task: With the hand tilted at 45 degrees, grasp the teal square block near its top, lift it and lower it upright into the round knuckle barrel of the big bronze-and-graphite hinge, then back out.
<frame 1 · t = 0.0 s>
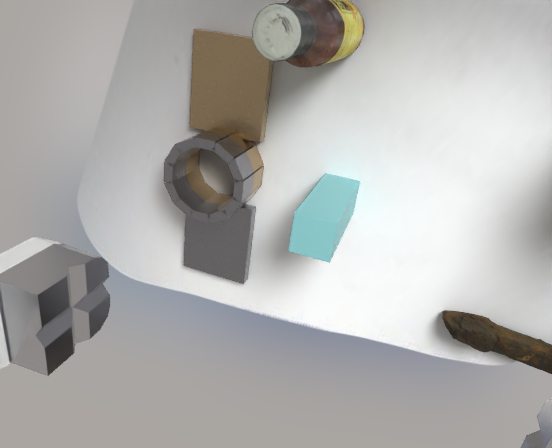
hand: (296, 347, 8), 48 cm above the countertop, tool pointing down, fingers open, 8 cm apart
sauce bottle: (336, 30, 51), on the countertop
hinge: (226, 166, 62), on the countertop
hand tool: (514, 338, 58), on the countertop
teal square block: (339, 193, 58), on the countertop
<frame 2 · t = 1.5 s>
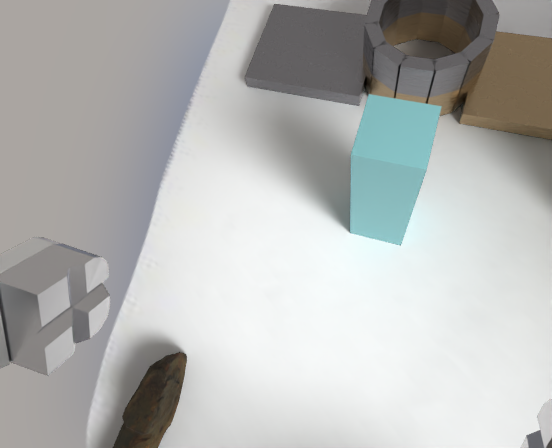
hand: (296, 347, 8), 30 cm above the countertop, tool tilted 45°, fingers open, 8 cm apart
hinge: (418, 73, 45), on the countertop
teal square block: (381, 216, 40), on the countertop
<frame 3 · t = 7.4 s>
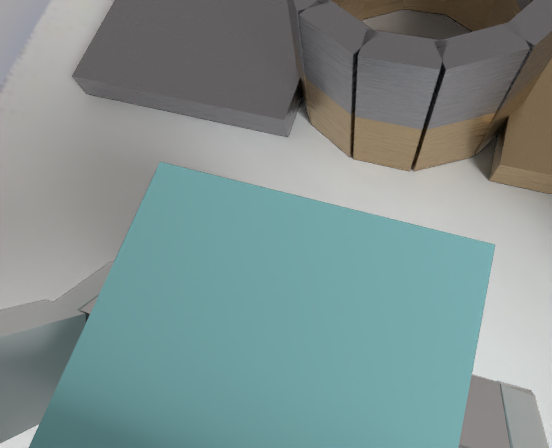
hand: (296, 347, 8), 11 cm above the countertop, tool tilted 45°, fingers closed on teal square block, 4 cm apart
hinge: (406, 74, 23), on the countertop
teal square block: (316, 391, 18), on the countertop, touching gripper
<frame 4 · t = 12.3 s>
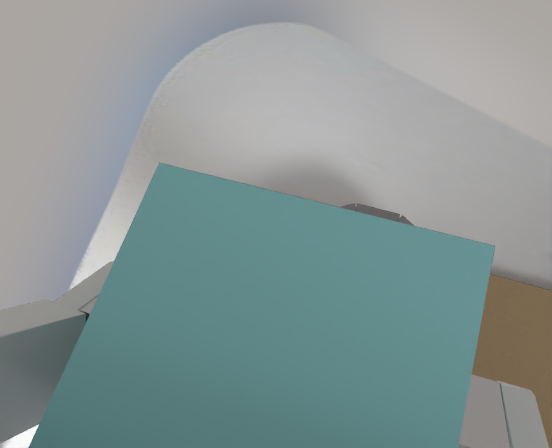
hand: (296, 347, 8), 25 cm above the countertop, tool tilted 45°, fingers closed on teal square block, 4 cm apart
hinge: (353, 310, 33), on the countertop
teal square block: (316, 392, 18), point 14 cm above the countertop, touching gripper
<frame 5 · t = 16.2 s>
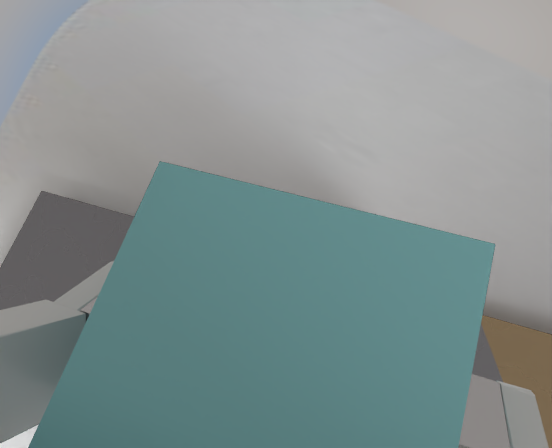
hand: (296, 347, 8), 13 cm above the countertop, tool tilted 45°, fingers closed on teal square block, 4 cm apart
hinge: (320, 392, 20), on the countertop
teal square block: (316, 391, 18), point 2 cm above the countertop, touching gripper
when the fingers open (12 cm above the countertop, at t = 17.2 s): teal square block drops 1 cm, resting in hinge.
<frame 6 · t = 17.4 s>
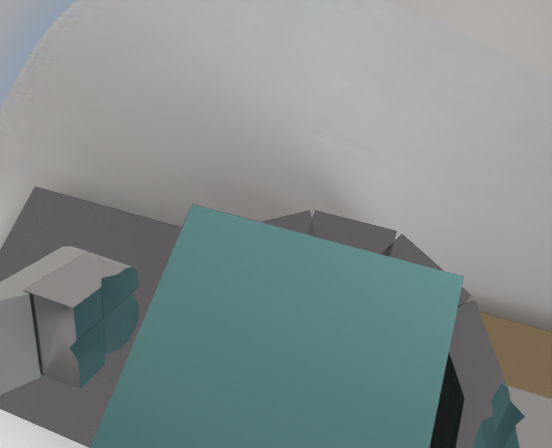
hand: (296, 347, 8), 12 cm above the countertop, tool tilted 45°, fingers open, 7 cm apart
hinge: (318, 392, 19), on the countertop
teal square block: (319, 392, 19), resting in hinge
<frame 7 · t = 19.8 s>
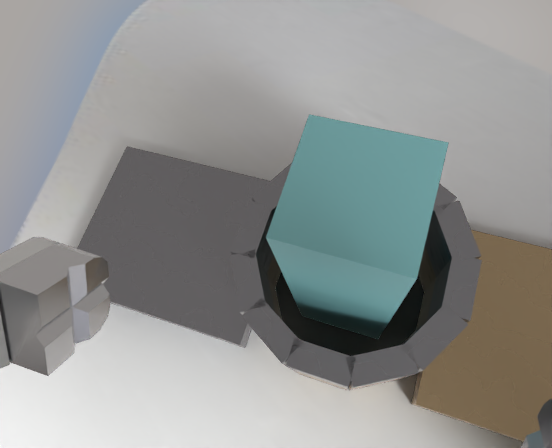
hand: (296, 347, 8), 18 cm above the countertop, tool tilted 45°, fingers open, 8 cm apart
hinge: (348, 290, 27), on the countertop
teal square block: (349, 290, 27), resting in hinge
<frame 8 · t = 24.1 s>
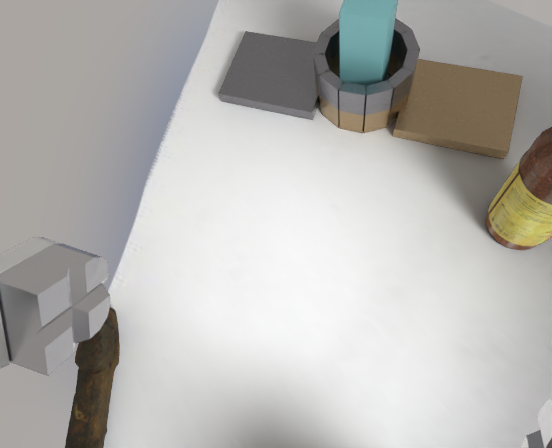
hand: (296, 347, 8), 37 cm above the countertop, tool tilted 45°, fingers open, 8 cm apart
sauce bottle: (514, 222, 46), on the countertop
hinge: (362, 93, 54), on the countertop
hand tool: (97, 405, 46), on the countertop
teal square block: (363, 93, 54), resting in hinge
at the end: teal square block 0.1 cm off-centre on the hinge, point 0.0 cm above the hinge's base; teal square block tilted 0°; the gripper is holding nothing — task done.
